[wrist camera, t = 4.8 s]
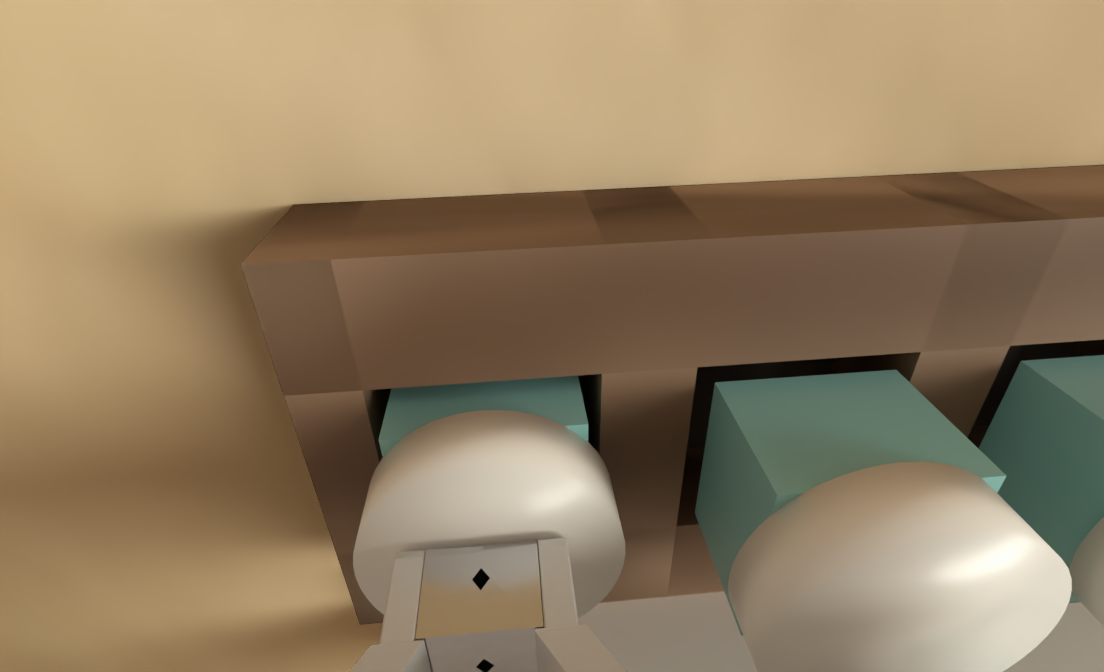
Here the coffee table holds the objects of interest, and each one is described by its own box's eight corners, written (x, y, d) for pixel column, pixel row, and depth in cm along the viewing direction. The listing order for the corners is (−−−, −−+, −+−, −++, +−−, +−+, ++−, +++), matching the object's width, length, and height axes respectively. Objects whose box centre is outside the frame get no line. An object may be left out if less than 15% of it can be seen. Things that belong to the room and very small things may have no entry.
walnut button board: (1216, 459, 19) (1328, 533, 16) (379, 529, 17) (359, 624, 15) (1460, 147, 14) (1682, 185, 11) (294, 204, 12) (240, 264, 9)
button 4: (589, 474, 15) (620, 631, 12) (407, 488, 15) (379, 654, 11) (592, 318, 13) (632, 454, 9) (374, 331, 13) (324, 478, 9)
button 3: (864, 512, 14) (998, 703, 10) (671, 529, 14) (738, 732, 10) (927, 347, 12) (1133, 520, 8) (692, 363, 11) (791, 551, 8)
